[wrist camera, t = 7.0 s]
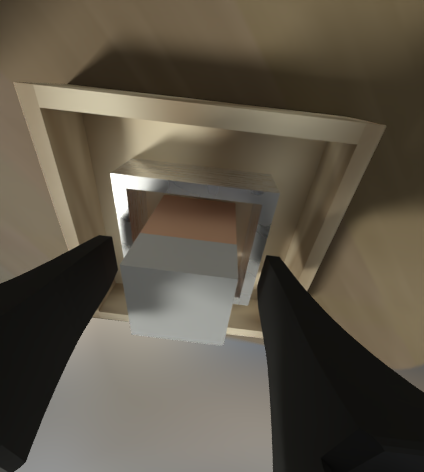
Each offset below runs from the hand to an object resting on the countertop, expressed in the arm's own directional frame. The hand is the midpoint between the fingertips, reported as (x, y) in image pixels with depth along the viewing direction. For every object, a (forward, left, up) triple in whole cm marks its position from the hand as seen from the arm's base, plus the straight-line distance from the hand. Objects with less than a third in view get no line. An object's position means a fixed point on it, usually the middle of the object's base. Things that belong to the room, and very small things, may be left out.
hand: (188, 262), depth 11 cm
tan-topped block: (0, 0, -3) cm, 3 cm away
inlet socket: (0, 0, -4) cm, 4 cm away
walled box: (0, 0, -4) cm, 4 cm away
